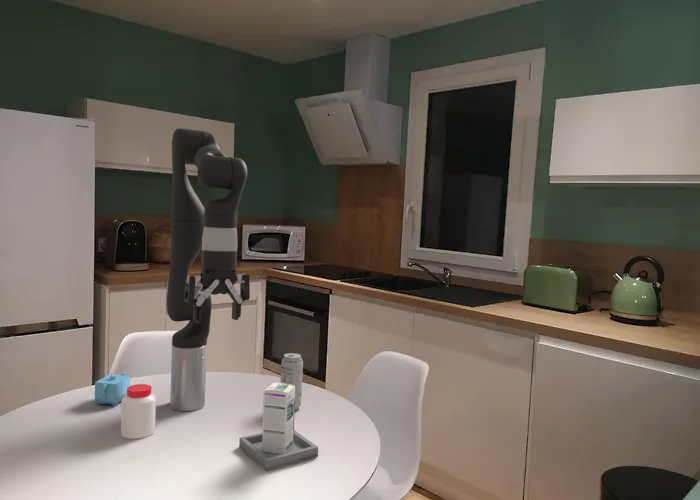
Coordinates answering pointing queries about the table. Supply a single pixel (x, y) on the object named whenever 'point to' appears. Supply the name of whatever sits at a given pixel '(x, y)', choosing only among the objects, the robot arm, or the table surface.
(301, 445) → the tray
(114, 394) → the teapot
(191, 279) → the robot arm
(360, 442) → the table surface
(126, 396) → the pill bottle
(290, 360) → the energy drink can
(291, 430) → the syrup box
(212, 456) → the table surface
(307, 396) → the table surface
